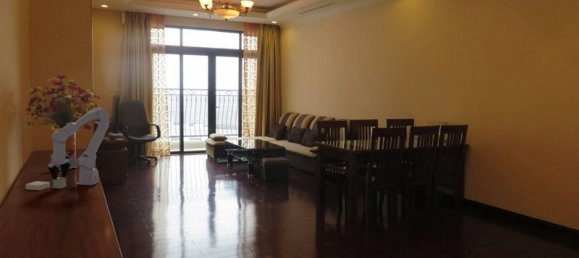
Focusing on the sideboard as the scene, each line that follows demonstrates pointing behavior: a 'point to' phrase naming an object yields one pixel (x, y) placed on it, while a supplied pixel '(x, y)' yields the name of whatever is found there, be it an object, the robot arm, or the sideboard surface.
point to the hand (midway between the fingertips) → (59, 178)
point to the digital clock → (72, 160)
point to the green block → (59, 182)
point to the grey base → (37, 185)
